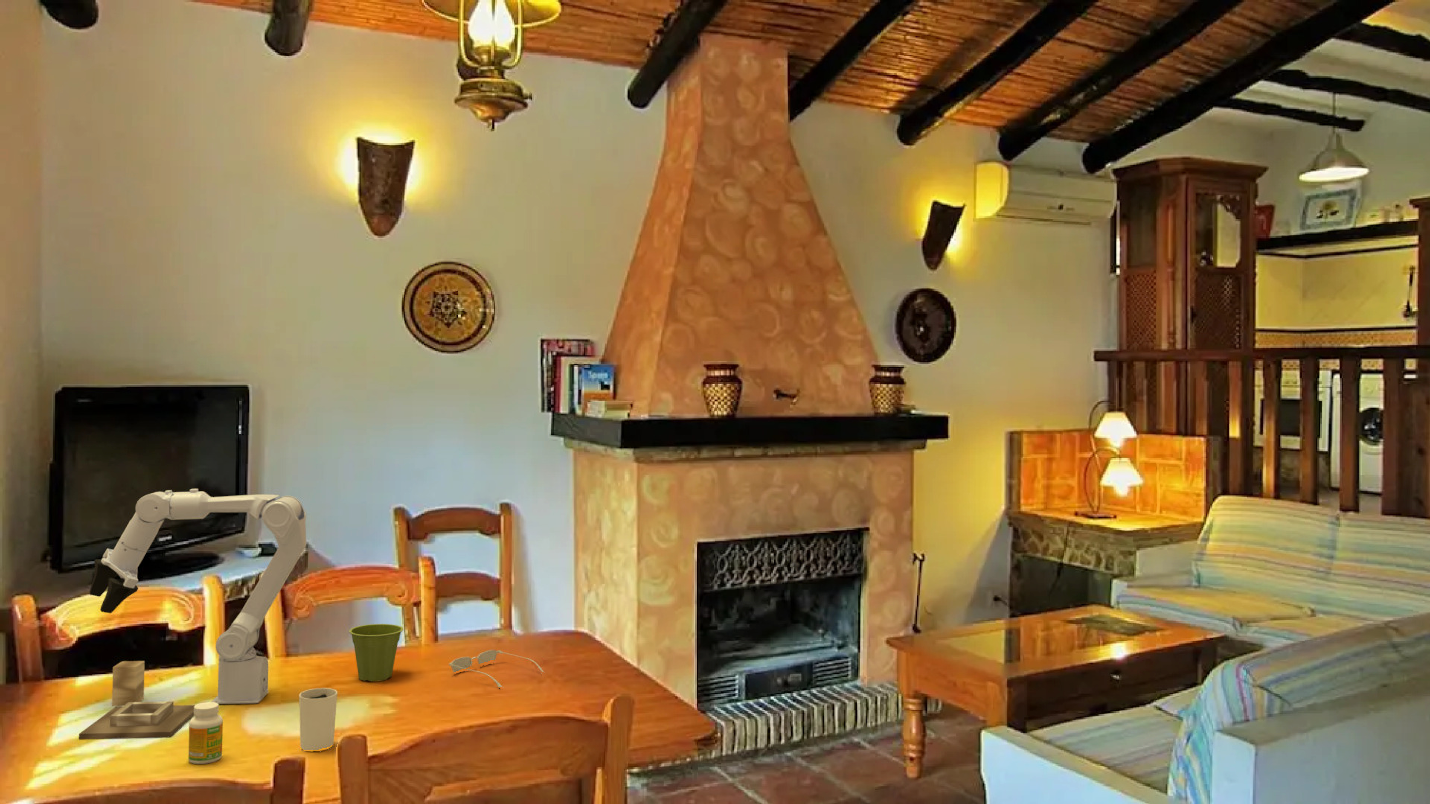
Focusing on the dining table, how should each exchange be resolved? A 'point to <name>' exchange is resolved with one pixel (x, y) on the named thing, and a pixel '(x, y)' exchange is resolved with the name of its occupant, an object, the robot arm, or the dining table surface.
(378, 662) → the plant pot
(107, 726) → the square peg socket base
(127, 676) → the birch peg
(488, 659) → the eyeglasses
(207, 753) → the supplement bottle
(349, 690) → the dining table surface
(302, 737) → the beige cup
